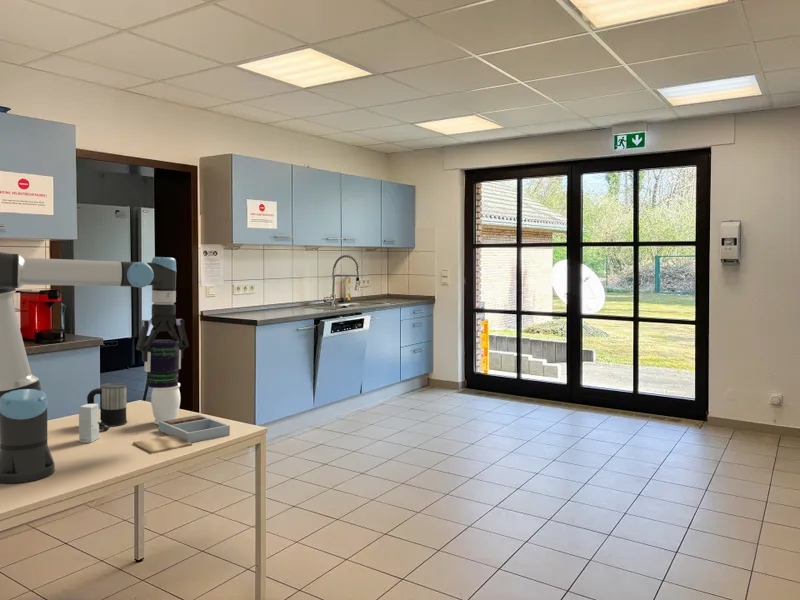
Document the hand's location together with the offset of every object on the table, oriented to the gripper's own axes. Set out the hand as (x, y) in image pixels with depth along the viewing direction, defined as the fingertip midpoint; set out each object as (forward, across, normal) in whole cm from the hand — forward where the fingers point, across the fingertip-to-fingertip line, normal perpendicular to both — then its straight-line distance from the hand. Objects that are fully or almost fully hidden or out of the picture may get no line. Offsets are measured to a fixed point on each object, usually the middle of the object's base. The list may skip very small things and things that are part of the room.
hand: (162, 369), depth 208 cm
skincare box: (+26, -16, +21) cm, 37 cm away
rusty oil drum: (+5, 0, 0) cm, 5 cm away
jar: (+25, +14, +27) cm, 40 cm away
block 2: (+25, +15, +13) cm, 32 cm away
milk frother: (+26, -4, +35) cm, 44 cm away
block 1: (+25, +11, +13) cm, 31 cm away
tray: (+25, +15, +7) cm, 30 cm away
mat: (+25, 0, 0) cm, 25 cm away
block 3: (+25, +20, +13) cm, 35 cm away
